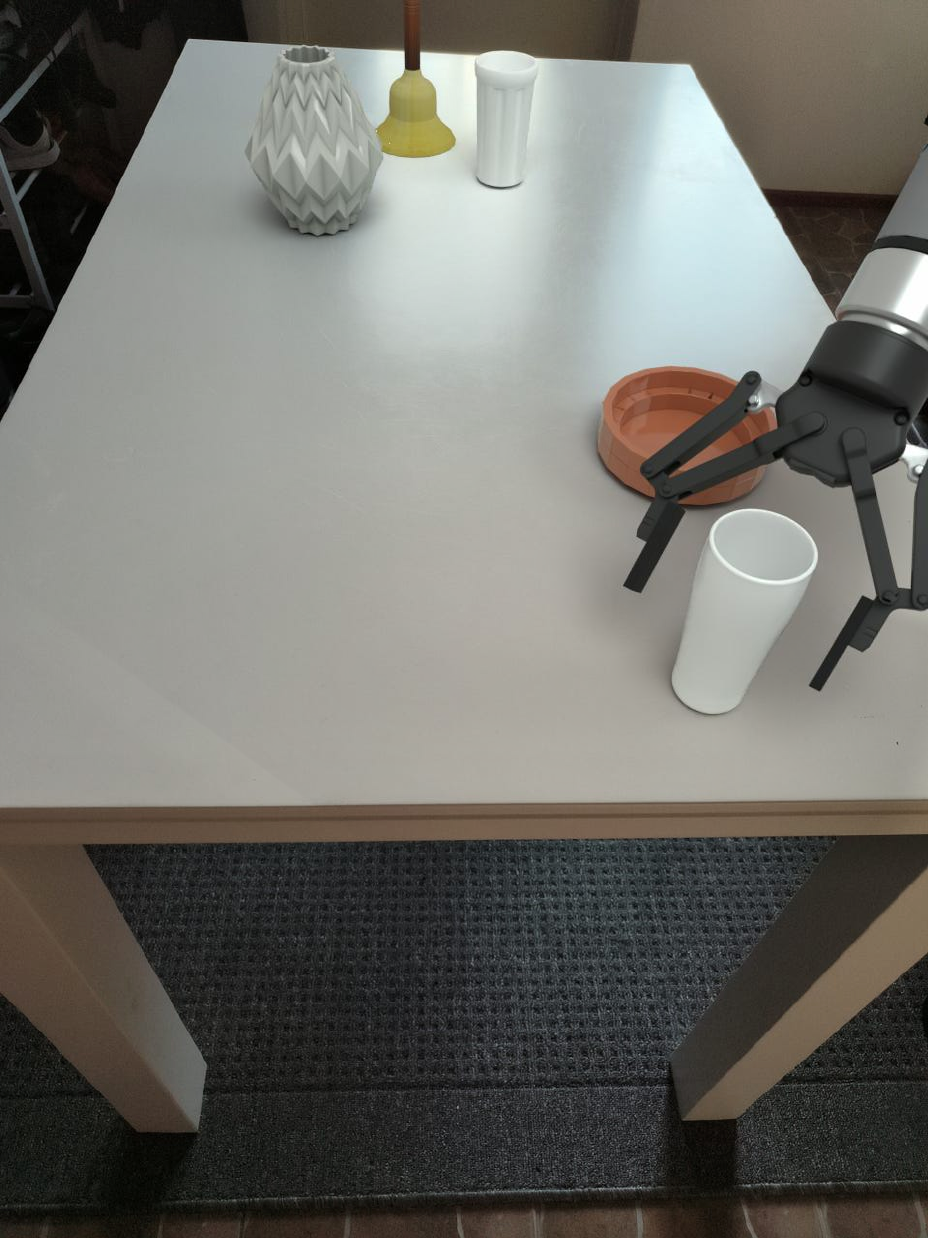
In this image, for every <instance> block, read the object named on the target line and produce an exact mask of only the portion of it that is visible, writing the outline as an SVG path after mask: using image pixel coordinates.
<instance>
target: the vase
mask: <svg viewBox="0 0 928 1238" xmlns="http://www.w3.org/2000/svg"><path fill="white" fill-rule="evenodd" d="M336 56H337V55H336V53H335V52H334V51H330V49H329V48H328V47H324V48H323V47H322V48H320V47H319V46H318V44H316V45H312V46H308V45H306V44H302V45H300V46H298V47H297V46H292V45H291V46H290V47H289V48H288V49H281V50H280V53H277V55H276V63H275V64H274V65H273V67H272V70H271V71H272V72H271V75H270V77H269V79H268V80H267V83H266V84H265V85H264V87H263V91H262V96H261V101H260V106H259V110H258V114H257V115H258V116H257V117H256V119H255V120H254V122H253V125H252V128H251V130H250V134H249V136H248V140H247V142H246V145H245V148H244V155H245V156H246V158H247V160H248V162H249V165H250V168H251V169H252V171H253V173H254V175H255V176H256V178H257V179H258V181H259V182H260V183H261V185H262V187H263V189H264V191H265V194H266V195H267V197H268V199H269V201H270V202H271V204H272V206H273V207H274V209H276V210H279V212H280V213H281V214H282V215H283V217H285V220H286V221H287V222H288V223H287V224H288V226H289V228H292V229H298V231H299V232H300V234H307V233H311V234H313V235H315V236H316V237H318V236H321V235H323V234H329V235H336V234H337V233H338V232H339V231H349V228H350V225H352V224H356V222H357V217H358V213H360V212H361V210H362V209H363V207H364V205H365V203H366V201H367V199H368V197H369V196H370V194H371V192H372V189H373V186H374V183H375V179H376V176H377V172H378V170H379V169H380V166H381V164H382V163H383V161H384V155H383V151H381V148H382V142H381V140H380V138H379V136H378V134H377V132H376V130H375V129H376V128H375V127H374V125H372V123H371V122H370V120H369V119H368V117H367V116H366V114H365V111H364V108H363V106H362V103H361V101H360V98H359V95H358V92H357V90H356V89H355V88H354V86H352V83H351V82H350V81H349V79H348V78H347V77H346V74H345V71H344V68H342V67H341V65H340V63H339V62H338V61H337V57H336Z"/></svg>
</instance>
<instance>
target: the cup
mask: <svg viewBox="0 0 928 1238" xmlns="http://www.w3.org/2000/svg"><path fill="white" fill-rule="evenodd" d="M539 67H540V63H539V61H538V60H537V59H536V58H535V57H534V56H532V55H531V54H527V53H525V52H520V51H515V50H493V51H491V50H490V51H487V52H484V53H481V54H479V55H478V56H476V57H475V60H474V76H475V78H476V178H477V179H478V180H479V182H481V183H483V184H485V185H487V186H492V187H500V188H504V187H505V188H506V187H507V188H508V187H513V186H516V185H518V184H521V182H522V181H523V180H524V170H525V163H526V154H527V146H528V138H529V130H530V121H531V112H532V105H533V97H534V89H535V82H536V80H537V78H538V74H539V73H538V72H539Z"/></svg>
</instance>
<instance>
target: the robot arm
mask: <svg viewBox="0 0 928 1238" xmlns="http://www.w3.org/2000/svg"><path fill="white" fill-rule="evenodd" d="M834 314H835V317H836V320H837V321H834V322H833V323H830V324H829V325H827V326H826V328H825V329H824V331H823V332H822V335H821V337H820V338H819V340H818V342H817V344H816V345H815V348H814V349H813V351H812V353H811V354H810V356H809V358H808V361H807V362H806V364H805V365H804V367H803V369H802V370H801V372H800V374H799V376H798V378H797V380H796V381H795V382H794V384H792V386H790V387H789V388H788V389H786V390H785V391H783V390H781V389H779V388H778V387H775V386H774V385H772V384H770V383H769V382H766V381H765V380H763V379H762V376H761V374H760V373H759V372H758V371H757V370H749V371H747V372H745V373H744V374H743V376H742V377H741V379H740V380H739V381H738V382H739V383H738V384H737V386H736V387H735V389H734V390H733V392H732V393H731V395H730V396H729V397H728V398H727V399H726V400H724V401H723V402H722V403H721V404H719V405H718V406H717V407H715V408H714V409H713V410H711V411H710V412H709V413H707V414H706V415H705V416H704V417H702V418H701V419H700V420H698V421H697V422H696V423H694V424H693V425H692V426H690V427H689V428H688V429H686V430H685V431H684V432H683V433H681V434H680V435H679V436H677V437H676V438H675V439H673V440H672V441H671V442H669V443H668V444H667V445H666V446H664V447H663V448H662V449H660V450H659V451H658V452H656V453H655V454H654V455H652V456H651V457H650V458H648V459H647V460H646V461H645V462H643V463H642V465H641V467H640V473H641V475H642V476H643V477H644V478H645V479H646V480H647V481H648V482H649V483H650V484H651V485H652V486H653V488H654V490H655V497H653V500H652V501H651V503H650V505H649V506H648V509H647V510H646V512H645V514H644V516H643V518H642V519H641V522H640V524H639V525H638V527H637V530H636V538H638V539H640V540H641V541H643V542H645V544H644V546H643V547H642V549H641V551H640V553H639V555H638V557H637V558H636V560H635V562H634V564H633V566H632V568H631V569H630V571H629V573H628V575H627V577H626V579H625V581H624V583H622V587H624V588H626V589H628V590H630V591H632V592H635V593H638V594H642V592H643V591H644V589H645V587H646V586H647V583H648V581H650V578H651V576H652V574H653V572H654V571H655V569H656V567H657V565H658V564H659V561H660V560H661V558H662V556H663V554H664V552H665V551H666V548H667V547H668V545H669V543H670V542H671V539H672V537H673V536H674V534H675V533H676V530H677V528H678V527H679V525H680V523H681V521H682V519H683V517H685V514H686V510H685V509H684V508H682V507H681V506H680V505H679V504H680V503H678V502H679V501H681V500H683V499H685V498H688V497H690V496H692V495H695V494H697V493H699V492H702V491H704V490H706V489H709V488H711V487H713V486H716V485H718V484H720V483H723V482H725V481H727V480H729V479H732V478H734V477H736V476H739V475H741V474H743V473H746V472H748V471H750V470H753V469H755V468H757V467H760V466H762V465H767V464H768V465H771V464H772V463H775V462H777V461H780V460H783V461H784V463H785V464H786V465H787V466H788V468H789V470H791V471H793V472H795V473H797V474H800V475H805V476H811V477H814V478H815V479H817V481H819V482H820V483H821V484H823V485H824V486H827V487H829V488H831V489H835V488H839V489H841V488H847V487H848V488H849V487H850V488H851V492H852V496H853V501H854V505H855V509H856V512H857V513H856V514H857V516H858V521H859V525H860V526H859V527H860V530H861V534H862V538H863V543H864V547H865V552H866V556H867V560H868V561H867V562H868V566H869V569H870V574H871V577H872V578H871V579H872V582H873V586H874V587H873V588H874V591H875V597H874V599H872V598H870V597H868V596H865V595H863V594H862V595H861V596H860V598H859V600H858V602H857V603H856V605H855V607H854V608H853V610H852V612H851V613H850V615H849V617H848V618H847V620H846V622H845V623H844V625H843V627H842V629H841V630H840V631H839V633H838V635H837V637H836V639H835V640H834V642H833V644H832V646H831V647H830V649H829V650H828V652H827V654H826V655H825V657H824V659H823V660H822V662H821V664H820V666H819V667H818V669H817V670H816V672H815V674H814V675H813V676H812V679H811V681H810V682H809V684H808V687H809V688H811V689H813V690H815V691H818V692H819V693H820V692H821V691H822V690H823V688H824V687H825V685H826V683H827V681H829V678H830V676H831V675H832V673H833V672H834V670H835V668H836V667H837V665H838V663H839V662H840V660H841V658H842V657H843V655H844V653H845V652H846V650H847V648H848V647H851V648H852V649H854V650H856V651H858V652H860V653H864V652H865V651H866V650H868V649H869V648H871V646H872V645H873V643H874V641H875V639H876V637H878V634H879V633H880V631H881V630H882V628H883V626H884V624H885V623H886V621H887V619H888V618H889V616H890V615H891V613H892V612H894V611H896V610H907V611H908V610H909V611H916V612H925V611H927V610H928V448H925V447H922V446H919V445H915V444H912V443H909V442H908V441H907V436H908V433H909V430H910V429H911V426H912V425H913V423H914V422H915V419H916V417H917V416H918V415H919V413H920V411H921V409H922V407H923V405H924V404H925V402H926V401H927V398H928V141H926V144H925V145H924V146H923V147H922V150H921V152H920V154H919V158H918V160H917V162H916V163H915V165H914V167H913V169H912V171H911V173H910V175H909V176H908V179H907V180H906V182H905V184H904V186H903V188H902V190H901V191H900V194H899V195H898V197H897V199H896V201H895V203H894V205H893V206H892V208H891V210H890V212H889V214H888V216H887V217H886V220H885V221H884V223H883V225H882V227H881V229H880V230H879V233H878V234H877V236H876V238H875V240H874V241H873V243H872V247H871V248H870V249H869V252H868V254H867V255H866V256H865V257H864V259H863V261H862V263H861V265H859V268H858V270H857V272H856V273H855V275H854V277H853V279H852V280H851V281H850V284H849V286H848V288H847V289H846V291H845V292H844V295H843V297H842V298H841V300H840V302H839V304H838V305H837V307H836V309H835V312H834ZM767 407H770V408H774V414H775V418H776V422H777V429H774V430H772V431H770V432H768V433H765V434H763V435H761V436H759V437H757V438H755V439H754V440H753V441H752V442H750V443H748V444H745V445H743V446H741V447H739V448H736V449H734V450H732V451H730V452H727V453H725V454H723V455H721V456H718V457H716V458H714V459H712V460H709V461H707V462H705V463H703V464H700V465H698V466H696V467H694V468H691V469H689V470H687V471H685V472H682V473H680V474H678V475H675V476H673V477H671V478H670V477H669V475H671V474H672V473H673V472H675V471H676V470H677V469H679V468H680V467H681V466H683V465H684V464H685V463H687V462H688V461H689V460H691V459H692V458H693V457H695V456H696V455H697V454H699V453H700V452H701V451H703V450H704V449H705V448H707V447H708V446H709V445H711V444H712V443H713V442H715V441H716V440H717V439H719V438H720V437H722V436H723V435H724V434H726V433H727V432H728V431H730V430H731V429H732V428H734V427H735V426H736V425H738V424H739V423H740V422H741V421H742V420H743V419H744V418H745V417H746V416H747V415H748V414H749V413H751V414H758V413H760V412H761V411H763V410H764V409H765V408H767ZM899 462H902V463H904V465H905V466H906V470H907V471H906V477H907V480H908V481H909V482H910V483H912V484H914V485H916V486H915V491H914V498H913V511H912V512H913V515H912V517H913V518H912V519H913V520H912V538H911V540H912V543H911V562H910V563H911V567H910V588H908V587H907V588H906V587H899V585H898V582H897V577H896V573H895V569H894V564H893V559H892V557H891V556H892V555H891V552H890V547H889V544H888V538H887V534H886V530H885V525H884V521H883V518H882V513H881V508H880V503H879V500H878V495H877V490H876V484H875V481H874V477H873V476H874V475H875V474H877V473H879V472H882V471H883V470H885V469H887V468H890V467H891V466H894V465H895V464H897V463H899ZM768 465H767V466H768Z"/></svg>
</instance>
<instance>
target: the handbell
mask: <svg viewBox="0 0 928 1238" xmlns="http://www.w3.org/2000/svg"><path fill="white" fill-rule="evenodd" d="M401 1H402V8H403V51H404V69H403V73H402V75H401V76H400V77H398V78H397V79H395V80H394V81H393V83H392V84H391V85H390V88H389V95H388V96H389V97H388V109H389V112H388V114H387V116H386V118H385V119H384V121H383V122H382V123H380V124H379V125H377V127H378V128H377V127H376V128H374V129H375V130H377V134H378V136H379V138H380V140H381V142H382V148H381V151H382V153H383V152H384V153H386V154H388V155H393V156H397V157H402V158H403V157H405V158H426V157H427V158H428V157H432V156H437V155H441V154H443V153H446V152H447V151H450V150H451V149H452V148H453V147H454V146H455V145H456V141H457V139H456V137H455V134H454V132H453V131H452V129H451V128H449V127H448V126H447V124H445V123H444V122H443V121H442V120H441V118H440V116H439V115H438V112H437V111H438V110H437V109H438V108H437V107H438V106H437V105H438V100H437V90H436V88H435V86H434V84H433V82H432V81H430V80H429V79H428V78H426V77H425V76H424V75H423V73H422V70H421V1H422V0H401ZM389 143H390V144H389Z"/></svg>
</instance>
